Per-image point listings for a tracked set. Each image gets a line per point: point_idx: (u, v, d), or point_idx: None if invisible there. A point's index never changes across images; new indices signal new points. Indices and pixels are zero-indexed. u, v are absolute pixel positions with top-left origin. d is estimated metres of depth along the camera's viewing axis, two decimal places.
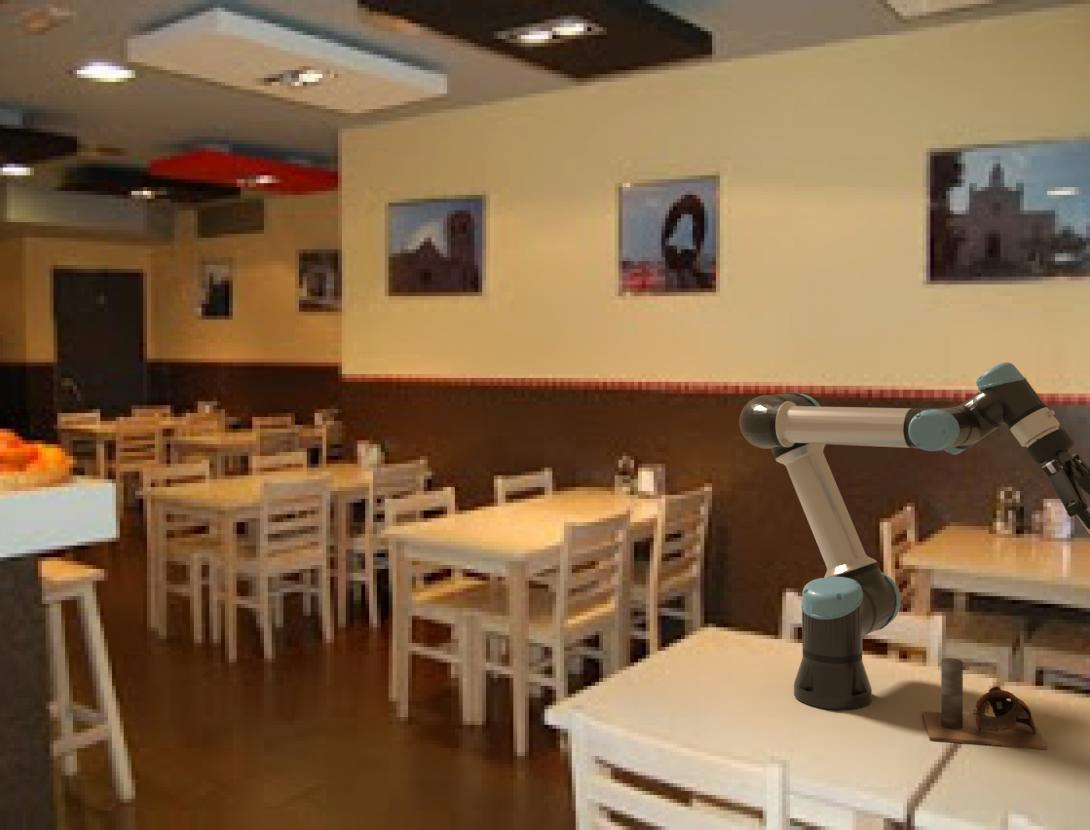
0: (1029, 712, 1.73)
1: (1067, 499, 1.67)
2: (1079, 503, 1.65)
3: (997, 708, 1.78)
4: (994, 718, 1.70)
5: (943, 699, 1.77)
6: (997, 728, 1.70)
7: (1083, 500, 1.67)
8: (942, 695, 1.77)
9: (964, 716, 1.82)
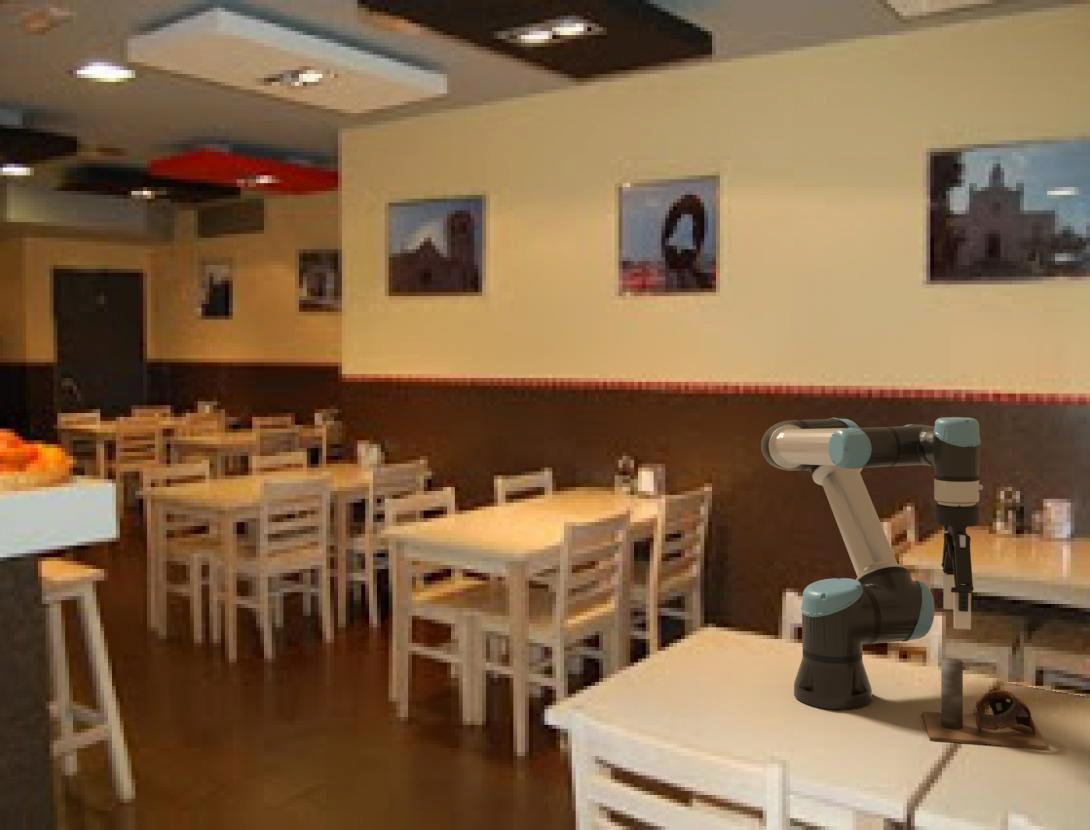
0: (1029, 712, 1.73)
1: (963, 579, 1.67)
2: (972, 589, 1.66)
3: (996, 710, 1.78)
4: (994, 716, 1.70)
5: (943, 699, 1.77)
6: (997, 726, 1.70)
7: None
8: (942, 695, 1.77)
9: (964, 716, 1.82)
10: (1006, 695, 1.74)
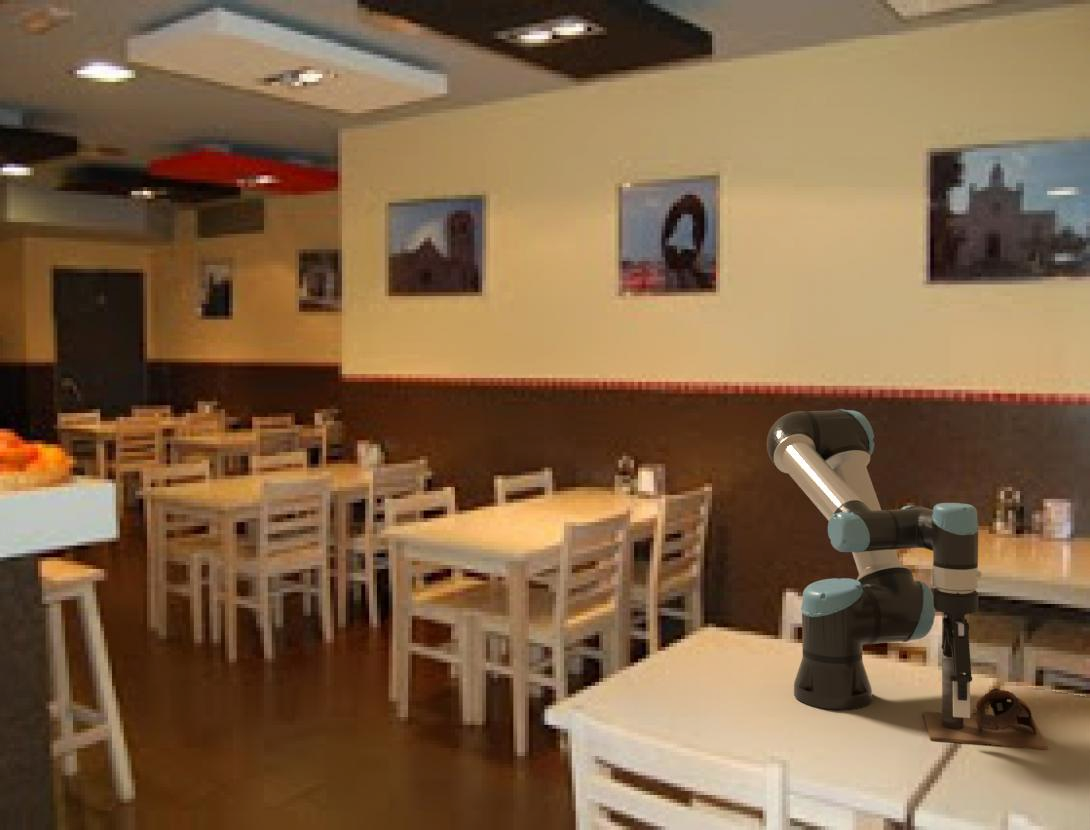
0: (1029, 712, 1.73)
1: (962, 669, 1.68)
2: (971, 679, 1.67)
3: (997, 710, 1.78)
4: (994, 716, 1.70)
5: (944, 699, 1.77)
6: (998, 726, 1.70)
7: None
8: (943, 695, 1.77)
9: None
10: (1007, 695, 1.74)
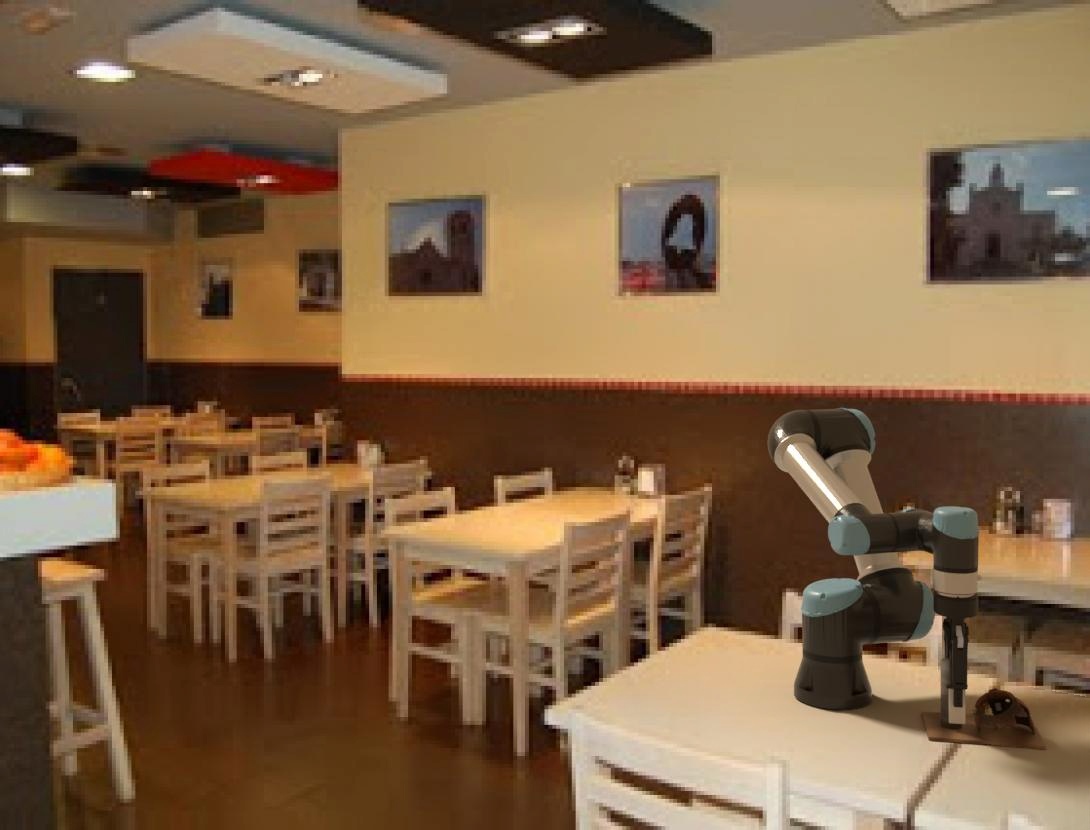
0: (1028, 712, 1.73)
1: (958, 679, 1.72)
2: (966, 688, 1.72)
3: (996, 710, 1.78)
4: (993, 716, 1.70)
5: (942, 699, 1.77)
6: (996, 726, 1.70)
7: None
8: (941, 695, 1.77)
9: None
10: (1005, 695, 1.74)
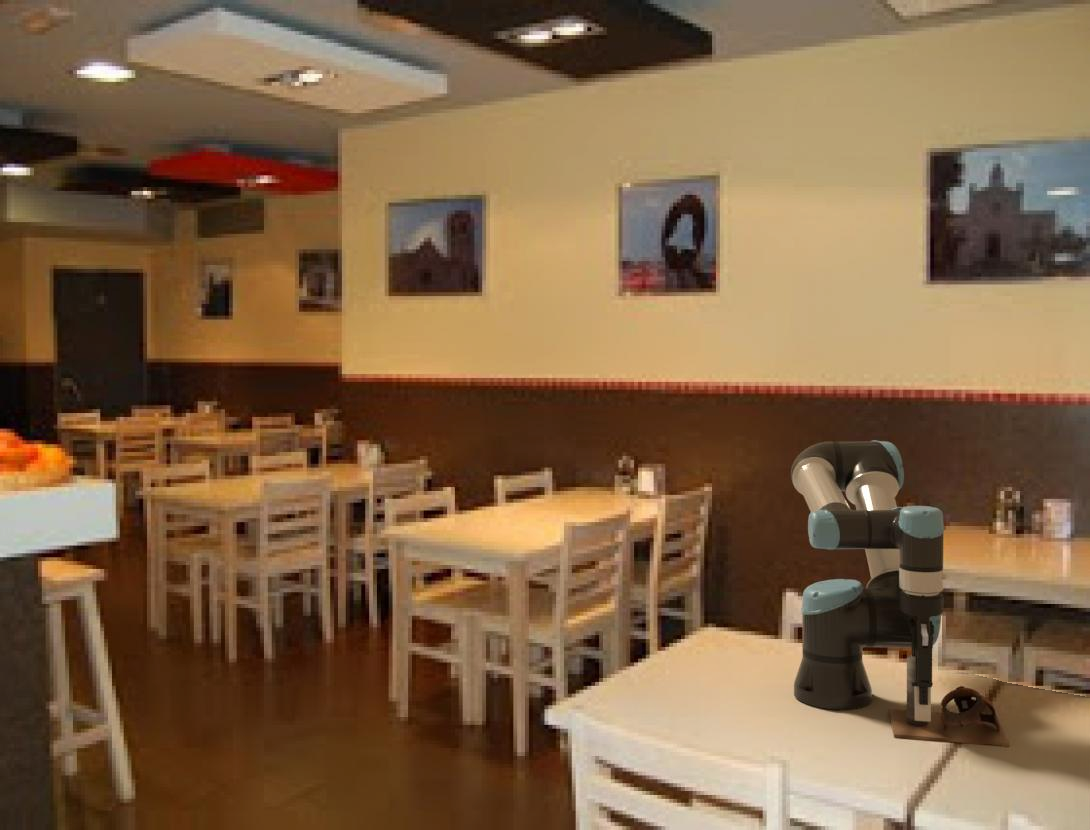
0: (993, 709, 1.75)
1: (924, 677, 1.73)
2: (931, 685, 1.73)
3: (962, 707, 1.80)
4: (958, 714, 1.72)
5: (908, 697, 1.79)
6: (961, 724, 1.72)
7: None
8: (907, 693, 1.79)
9: None
10: (971, 693, 1.75)
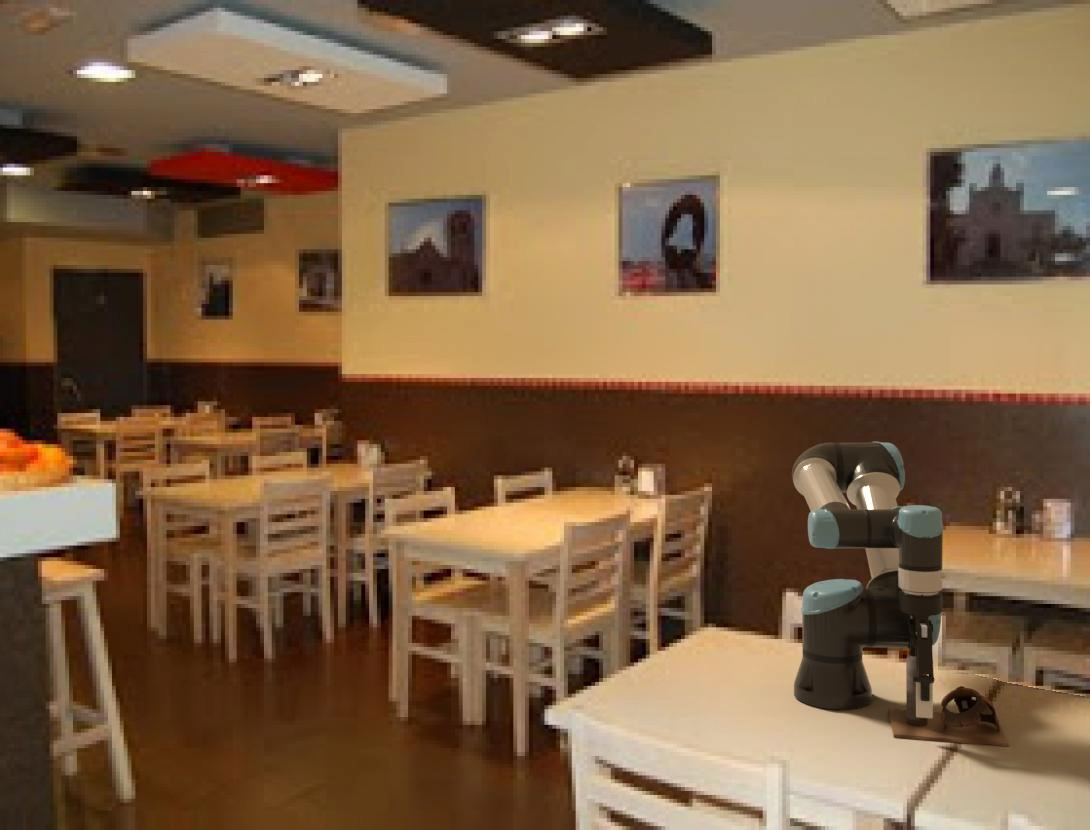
0: (993, 709, 1.75)
1: (925, 670, 1.69)
2: (933, 680, 1.69)
3: (962, 707, 1.79)
4: (958, 714, 1.72)
5: (908, 697, 1.79)
6: (961, 724, 1.72)
7: None
8: (907, 693, 1.79)
9: None
10: (971, 693, 1.75)
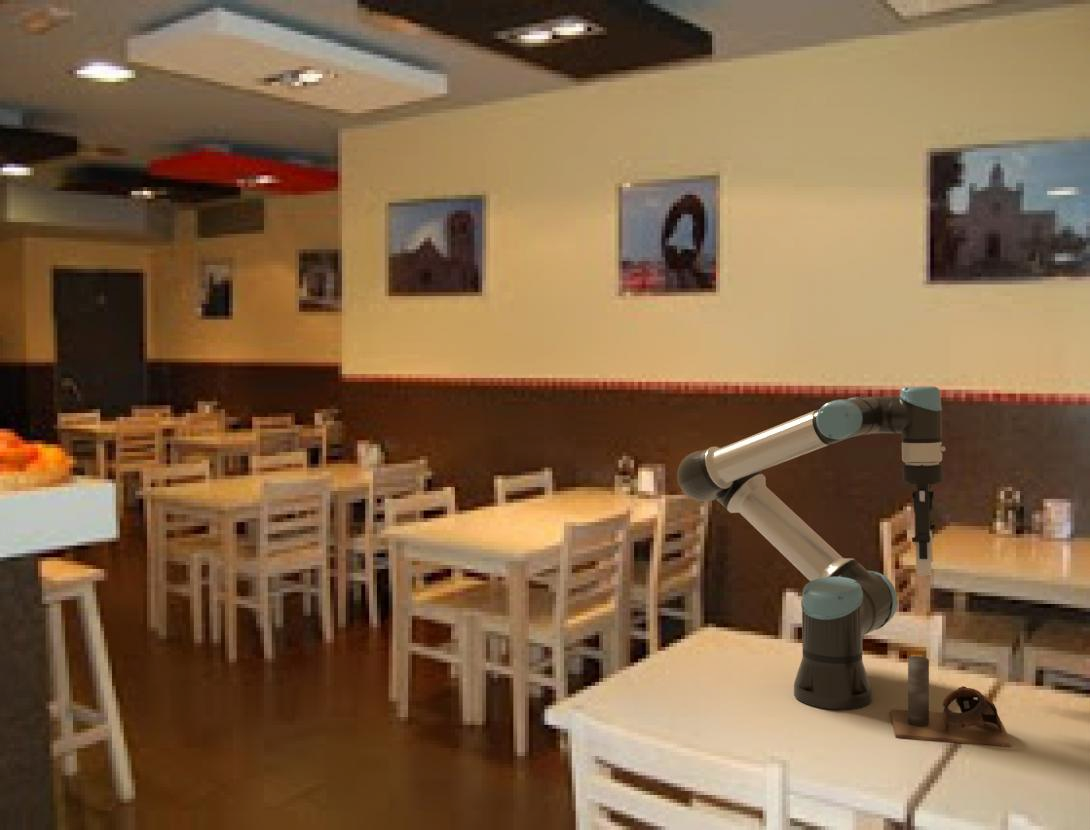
0: (995, 710, 1.75)
1: (921, 529, 1.86)
2: (929, 538, 1.85)
3: (964, 707, 1.79)
4: (960, 714, 1.72)
5: (910, 697, 1.78)
6: (963, 724, 1.72)
7: (929, 534, 1.88)
8: (909, 693, 1.79)
9: (931, 714, 1.83)
10: (973, 693, 1.75)
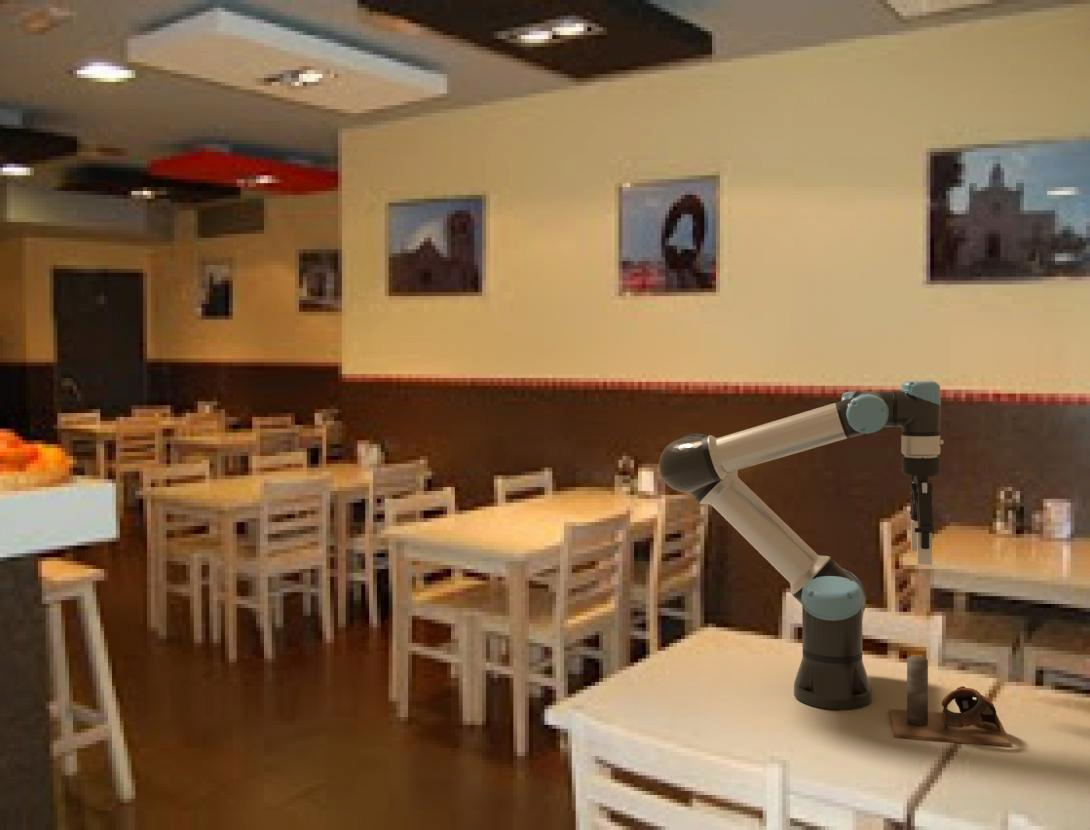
0: (994, 709, 1.75)
1: (925, 520, 1.91)
2: (932, 528, 1.91)
3: (963, 707, 1.79)
4: (959, 714, 1.72)
5: (908, 697, 1.79)
6: (962, 724, 1.72)
7: None
8: (908, 693, 1.79)
9: (930, 714, 1.84)
10: (972, 693, 1.75)
